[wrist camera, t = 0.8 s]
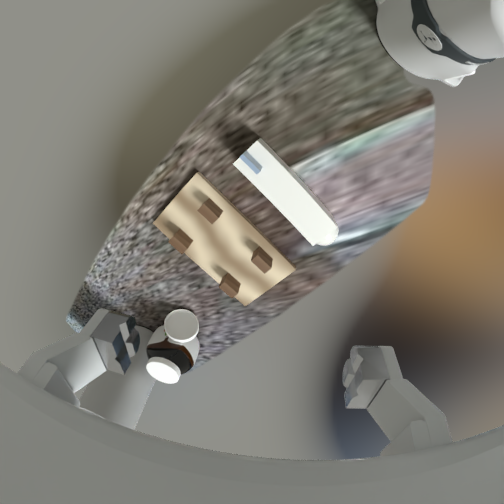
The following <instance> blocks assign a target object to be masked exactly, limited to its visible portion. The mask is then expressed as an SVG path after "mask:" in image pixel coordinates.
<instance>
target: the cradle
mask: <svg viewBox="0 0 504 504" xmlns="http://www.w3.org/2000/svg"><path fill="white" fill-rule="evenodd" d="M153 224H154V225H155V226H156V227H157V228H158V229H159V230H161V231H162V232H163V233H164V234H165V235H166V236H167V237H168V238H169V239H170V240H169V241H168V242H169V243H170V244H171V245H172V246H173V247H174V248H176V249H177V250H178V251H179V252H180V253H181V254H183V253H185V254H187V255H188V256H189V257H190V258H191V259H192V260H193V261H194V262H195V263H196V264H198V265H199V266H200V267H201V268H202V269H203V270H204V271H205V272H207V273H208V274H209V275H210V276H211V277H212V278H213V279H214V280H216V281H217V282H218V283H219V284H220V285H219V288H220V289H222V290H223V291H224V292H225V293H226V294H227V295H229V296H230V297H231V298H233V297H235V298H236V299H237V300H239V301H240V302H241V303H242V304H243V305H245V306H246V305H248V304H249V303H250V302H252V301H253V300H255V299H256V298H257V297H259V296H260V295H262V294H263V293H264V292H266V291H267V290H269V289H270V288H271V287H273V286H274V285H276V284H277V283H278V282H280V281H281V280H282V279H284V278H285V277H287V276H288V275H289V274H291V273H292V272H293V271H295V270H296V266H295V265H294V264H293V263H292V262H291V261H290V260H289V259H288V258H287V257H286V256H285V255H284V254H283V253H282V252H281V251H280V250H279V249H278V248H277V247H276V246H275V245H274V244H273V243H272V242H271V241H270V240H269V239H268V238H267V237H266V236H265V235H264V234H263V233H262V232H261V231H260V230H259V229H258V228H257V227H256V226H255V225H254V224H253V223H252V222H251V221H250V220H249V219H248V218H247V217H246V216H245V215H244V214H243V213H241V212H240V211H239V210H238V209H237V208H236V207H235V206H234V205H233V204H232V203H231V202H230V201H229V200H228V199H227V198H226V197H225V196H224V195H223V194H222V193H221V192H220V191H219V190H218V189H217V188H216V187H215V186H214V185H213V184H211V183H210V182H209V181H208V180H207V179H206V178H205V177H204V176H203V175H202V174H201V173H200V172H197V173H196V174H195V175H194V176H193V177H192V179H191V180H190V181H189V182H188V183H187V184H186V185H185V186H184V187H183V189H182V190H181V191H180V192H179V193H178V194H177V195H176V197H175V198H174V199H173V200H172V201H171V202H170V204H169V205H168V206H167V207H166V208H165V209H164V211H163V212H162V213H161V214H160V215H159V217H158V218H157V219H156V220H155V222H154V223H153Z"/></svg>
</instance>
